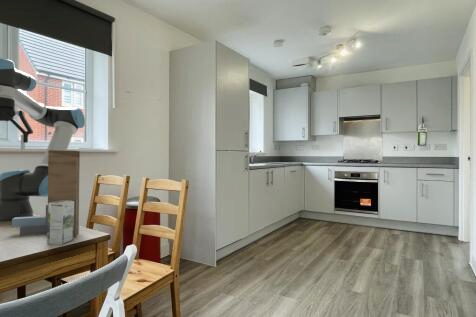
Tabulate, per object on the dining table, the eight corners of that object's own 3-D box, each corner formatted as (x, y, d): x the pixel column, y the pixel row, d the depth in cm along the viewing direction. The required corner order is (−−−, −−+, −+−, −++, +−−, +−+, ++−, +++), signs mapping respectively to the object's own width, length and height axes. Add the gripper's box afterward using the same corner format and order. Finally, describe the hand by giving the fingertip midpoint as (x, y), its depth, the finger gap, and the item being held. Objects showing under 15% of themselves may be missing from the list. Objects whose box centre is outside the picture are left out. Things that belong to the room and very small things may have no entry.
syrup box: (59, 239, 105) (59, 199, 105) (74, 240, 104) (74, 200, 104) (46, 244, 99) (47, 202, 99) (62, 245, 98) (63, 202, 98)
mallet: (11, 227, 109) (11, 206, 109) (15, 225, 113) (15, 204, 113) (63, 224, 115) (63, 204, 115) (65, 222, 119) (65, 202, 119)
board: (25, 231, 115) (25, 223, 115) (65, 228, 121) (65, 221, 121) (19, 235, 109) (19, 227, 109) (62, 232, 114) (62, 225, 114)
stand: (52, 234, 111) (53, 150, 111) (78, 232, 114) (79, 151, 115) (47, 240, 104) (48, 150, 104) (75, 237, 107) (76, 150, 107)
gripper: (-42, 93, 108) (-42, 149, 108) (36, 98, 117) (36, 150, 117) (-32, 97, 115) (-32, 149, 115) (41, 102, 124) (41, 150, 124)
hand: (2, 150), depth 116 cm, fingers open, 13 cm apart
